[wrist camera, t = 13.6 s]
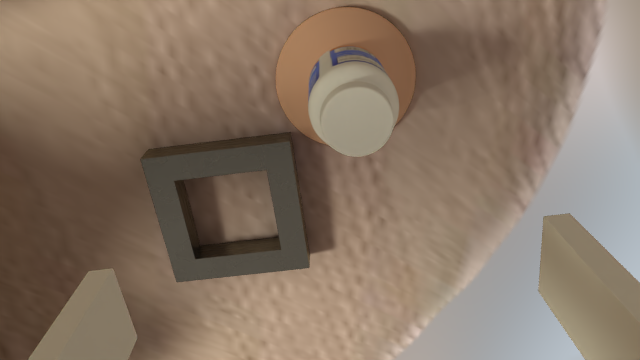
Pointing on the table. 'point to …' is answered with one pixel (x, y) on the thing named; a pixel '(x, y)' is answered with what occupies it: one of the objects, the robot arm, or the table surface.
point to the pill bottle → (352, 101)
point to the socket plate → (222, 159)
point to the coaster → (334, 32)
